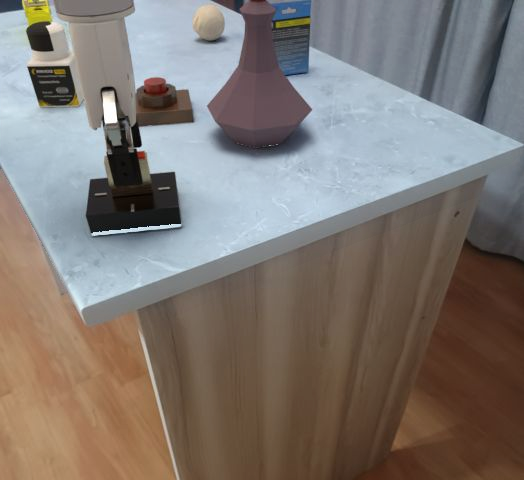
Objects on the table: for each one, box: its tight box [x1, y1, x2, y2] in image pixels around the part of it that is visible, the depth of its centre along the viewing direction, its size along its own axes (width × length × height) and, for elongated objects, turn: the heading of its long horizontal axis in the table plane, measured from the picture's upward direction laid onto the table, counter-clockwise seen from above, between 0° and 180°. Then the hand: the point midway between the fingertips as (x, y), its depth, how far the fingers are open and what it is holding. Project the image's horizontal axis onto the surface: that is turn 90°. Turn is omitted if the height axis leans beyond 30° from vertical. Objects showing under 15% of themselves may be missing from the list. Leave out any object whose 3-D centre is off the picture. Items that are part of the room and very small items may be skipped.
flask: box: [206, 0, 313, 149], centre depth 75 cm, size 16×16×20 cm
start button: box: [143, 76, 167, 95], centre depth 85 cm, size 4×4×2 cm
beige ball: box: [191, 4, 226, 41], centre depth 115 cm, size 7×7×7 cm
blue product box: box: [270, 0, 312, 76], centre depth 98 cm, size 9×4×12 cm, turn 110°
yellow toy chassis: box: [21, 0, 54, 27], centre depth 119 cm, size 16×6×8 cm, turn 19°
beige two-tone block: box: [103, 150, 153, 197], centre depth 63 cm, size 5×2×5 cm, turn 100°
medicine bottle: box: [25, 20, 84, 109], centre depth 89 cm, size 7×7×12 cm
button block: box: [135, 83, 195, 127], centre depth 87 cm, size 11×9×4 cm
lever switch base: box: [85, 171, 182, 234], centre depth 65 cm, size 11×9×3 cm
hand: (129, 165), depth 62 cm, fingers open, 9 cm apart
